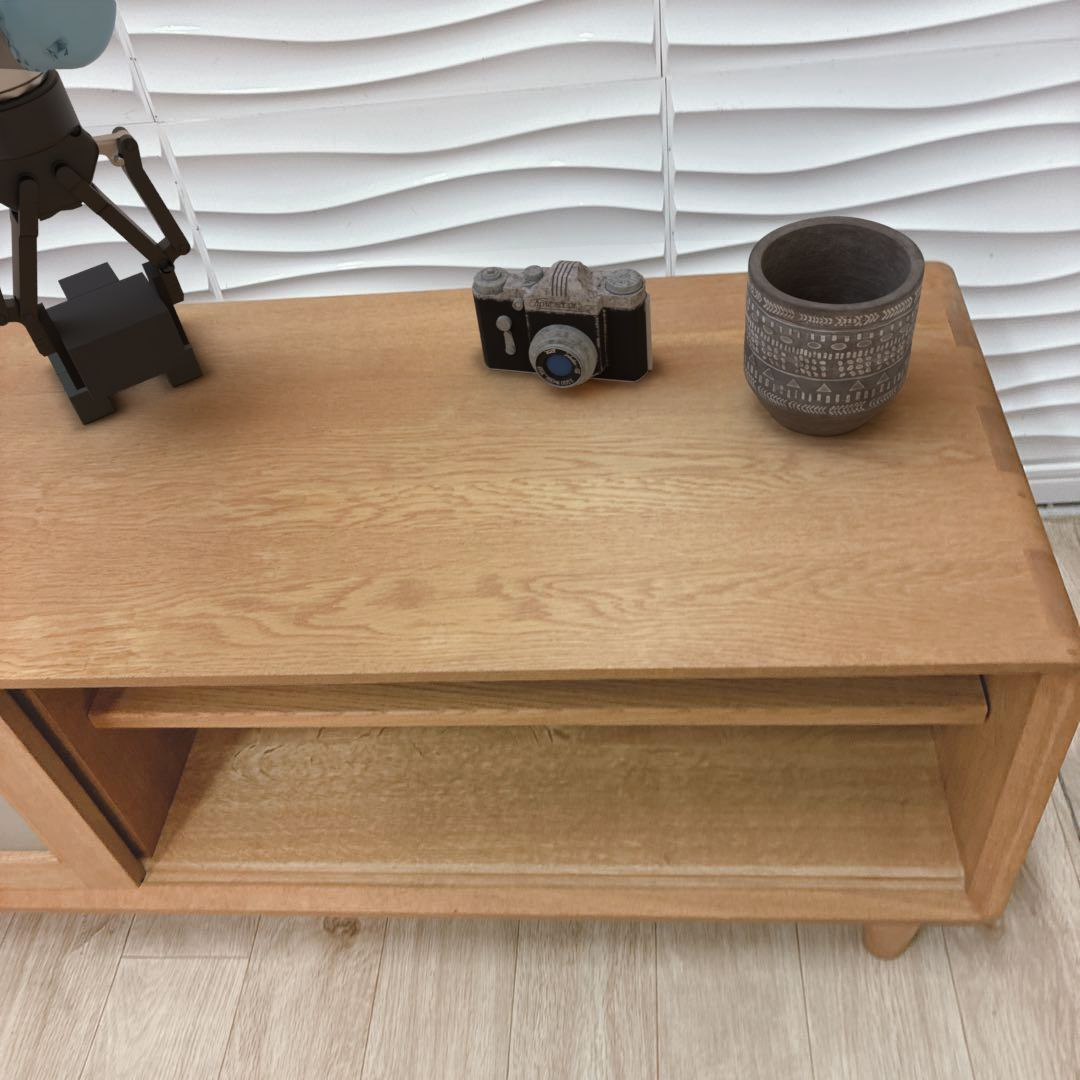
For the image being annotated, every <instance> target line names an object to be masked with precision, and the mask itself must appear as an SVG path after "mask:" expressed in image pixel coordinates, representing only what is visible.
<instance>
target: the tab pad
mask: <svg viewBox="0 0 1080 1080" xmlns="http://www.w3.org/2000/svg"><path fill="white" fill-rule="evenodd" d="M57 281H58V284H59V287H60V288H61V291H62V292H63V294H64V296H65V298H66V300H65V301H63V302H59V303H58V304H55V305H52V306H50V307H47V308H45V309H46V310H47V312H48V314H49V316H50V318H51V320H52V322H53V324H54V326H55V328H56V329H57V331H58V333H59V335H60V337H61V340H62V342H63V344H64V345H65V347H66V349H67V351H68V353H69V355H70V357H71V359H72V361H73V363H74V365H75V367H76V369H77V370H78V372H79V374H80V376H81V378H82V380H83V382H84V384H85V386H86V388H87V390H88V392H89V393H90V395H91V397H92V399H93V401H94V402H96V401H98V400H101V399H103V398H105V397H110V396H112V395H114V394H118V393H120V392H122V391H125V390H127V389H129V388H132V387H134V386H136V385H139V384H141V383H144V382H146V381H148V380H151V379H153V378H155V377H158V376H160V375H162V374H163V375H164V373H165V372H168V371H170V370H172V369H175V368H177V367H180V366H182V365H184V364H187V363H189V362H190V359H189V357H188V355H187V352H186V350H185V348H184V345H183V343H182V340H181V338H180V336H179V333H178V331H177V329H176V326H175V324H174V321H173V319H172V317H171V314H170V312H169V310H168V308H167V307H166V306H165V304H164V303H163V301H162V300H161V298H160V297H159V296H158V294H157V293H156V292H155V290H154V289H153V287H152V286H151V284H150V283H149V280H148V278H147V276H146V274H144V272H143V271H140V272H138V273H134V274H132V275H130V276H128V277H125V278H122V279H119V277H118V276H117V274H116V273H115V271H114V270H113V268H112V267H111V265H110V263H109V262H108V261H105V262H103V263H100V264H98V265H94V266H92V267H90V268H87V269H85V270H84V269H83V270H82V271H79V272H76V273H73V274H71V275H69V276H68V275H67V276H66V277H63V278H61V279H58V280H57Z"/></svg>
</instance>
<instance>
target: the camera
mask: <svg viewBox="0 0 1080 1080" xmlns="http://www.w3.org/2000/svg"><path fill="white" fill-rule="evenodd" d="M471 291H472V298H473V302H474V308H475V315H476V320H477V326H478V327H477V328H478V333H479V338H480V343H481V350H482V356H483V361H484V364H485V367H486V368H487V369H488V370H492V371H501V372H502V371H504V372H512V373H513V372H514V373H524V374H534V375H537V376H538V377H539V378H540V379H541V380H542V381H543V382H544V383H546V384H548V385H550V386H551V387H554V388H559V389H565V388H566V389H567V388H571V387H575V386H578V385H581V384H584V383H585V382H587V381H589V379H591V380H599V381H610V382H611V381H613V382H624V383H637V382H639V381H641V380H642V379H643V378H645V377H646V376H647V375H648V373H649V371H652V370H653V345H652V344H653V343H652V318H651V317H652V315H651V314H652V312H651V311H652V310H651V293H649V292H647V287H646V279H645V278H644V276H643V274H641V273H640V272H639V271H637V270H635V269H633V268H632V269H631V268H619V269H616V270H600V269H599V270H596V269H590V268H589V267H588V266H587V265H585V264H583V262H582V261H578V260H561V259H560V260H557V261H555V262H554V263H553V264H552V265H551V266H540V265H537V264H532V265H529V266H526V268H524V270H523V271H522V272H519V273H517V272H516V273H511V272H508V271H507V270H506V269H505V268H504V267H500V266H487V267H485V268H482V269H480V270H478V271H477V272H476V273H475V274H474V276H473V282H472V284H471Z"/></svg>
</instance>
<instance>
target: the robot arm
mask: <svg viewBox="0 0 1080 1080" xmlns="http://www.w3.org/2000/svg"><path fill="white" fill-rule="evenodd" d="M116 19H117V1H116V0H0V204H1V205H3V206H4V207H6V208H8V209H9V210H8V211H9V220H10V227H11V229H10V230H11V233H10V234H11V267H12V269H11V272H12V273H11V274H12V297H11V298H5V297H4V295H3V291H2V289H1V287H0V327H4V326H7V325H9V324H10V323H18V324H21V325H22V326H23V327H24V328H25V330H26V331H27V333H28V336H29V337H30V339H31V340H32V343H33V344H34V347H35V348H36V350H37V352H38V353H39V354H40V355H41V356H43V357H44V358H46V357H48V355H51V354H53V353H56V352H57V354H58V355H59V357H60V359H61V361H62V363H63V365H64V367H65V369H66V371H67V372H68V374H69V376H70V378H71V380H72V382H73V384H74V386H75V388H76V389H77V390H79V389H82V388H84V387H86V386H85V384H84V382H83V380H82V378H81V376H80V374H79V372H78V370H77V369H76V367H75V365H74V363H73V361H72V359H71V357H70V355H69V353H68V351H67V349H66V347H65V345H64V344H63V342H62V340H61V337H60V335H59V333H58V331H57V329H56V328H55V326H54V324H53V322H52V320H51V318H50V316H49V314H48V312H47V310H46V309H47V308H46V307H45V305H44V303H43V302H39V298H38V296H39V295H38V294H39V293H38V292H39V290H38V288H39V287H38V286H39V285H38V238H39V234H40V233H39V232H40V231H39V221H40V222H43V221H46V220H49V219H51V218H53V217H54V216H56V215H57V214H58V213H61V212H62V211H65V212H66V211H73V210H76V209H78V208H81V207H83V204H84V205H85V206H87V208H89V209H90V210H91V211H92V212H93V213H94V214H95V215H97V216H98V217H100V218H101V219H102V220H103V221H104V222H105V223H107V225H109V226H110V227H111V228H112V229H113V230H114V231H115V232H116V233H117V234H119V235H120V236H121V237H122V239H124V240H125V241H126V242H127V243H129V244H130V245H131V246H132V247H133V248H134V249H135V250H136V251H137V252H138V253H139V254H140V255H142V256H143V257H144V258H145V259H146V260H147V261H145V262H143V263H141V266H142V269H143V271H144V273H145V277H146V278H147V280H148V281H149V283H150V284H151V286H152V287H153V289H154V290H155V292H156V293H157V294H158V296H159V297H160V298H161V300H162V301H163V303H164V304H165V306H166V307H167V308H168V310H169V312H170V314H171V317H172V319H173V321H174V324H175V326H176V329H177V331H178V333H179V336H180V338H181V340H182V343H183V345H184V346H185V345H188V344H190V341H189V339H188V336H187V334H186V332H185V331H186V330H185V329H184V326H183V324H182V322H181V319H180V317H179V315H178V312H177V310H176V307H175V306H176V305H177V304H179V303H183V302H184V301H185V293H184V290H183V289H182V285H181V284H180V281H179V278H178V276H177V274H176V271H175V270H176V265H175V262H176V260H177V259H179V258H180V257H181V256H187V255H188V254H189V253H190V252H191V250H192V247H191V244H190V242H189V240H188V239H187V237H186V235H185V234H184V232H183V230H182V229H181V228H180V225H179V224H178V222H177V221H176V219H175V218H174V216H173V215H172V213H171V211H170V210H169V207H168V206H167V204H166V203H165V202H164V200H163V198H162V197H161V194H160V193H159V192H158V190H157V188H156V187H155V185H154V183H153V182H152V181H151V178H150V177H149V175H148V174H147V172H146V170H145V169H144V167H143V160H142V157H141V152H140V147H139V144H138V141H137V140H136V139H135V138H134V136H133V135H132V134H131V132H129V130H128V129H126V127H124V126H120V125H119V126H116V127H114V128H113V129H112V131H111V133H107V134H100V135H95V136H94V135H93V136H92V135H91V133H89V132H88V131H87V130H86V129H84V128H83V126H82V124H81V121H80V120H79V118H78V115H77V113H76V111H75V108H74V105H73V104H72V101H71V99H70V96H69V95H68V91H67V89H66V88H65V85H64V82H63V80H62V78H61V76H60V74H59V71H58V70H75V69H76V70H78V69H83V68H85V67H87V66H90V65H91V64H92V63H94V62H95V61H96V60H98V59H99V58H100V57H101V56H102V55H103V54H104V53H105V51H106V50H107V48H108V46H109V44H110V41H111V38H112V37H113V33H114V30H115V27H116ZM100 155H102V156H105V157H106V158H107V159H108V161H109V162H110V163H111V164H112V166H114V167H120V168H121V170H122V172H123V173H124V174H125V176H126V178H127V179H128V181H129V183H130V184H131V186H132V187H133V189H134V190H135V192H136V193H137V195H138V197H139V198H140V200H141V201H142V204H144V206H145V208H146V210H147V211H148V212H149V214H150V216H151V217H152V219H153V221H154V222H155V224H156V225H157V226H158V227H157V228H159V230H160V231H161V233H162V235H163V238H162V239H161V240H159V242H157V241H156V240H154V239H153V238H152V236H150V235H149V234H148V233H147V232H146V231H145V230H144V229H143V228H142V227H141V226H140V225H138V224H137V223H136V222H135V221H134V220H133V219H132V218H131V217H130V216H129V215H128V214H126V212H125V211H123V209H121V208H120V207H119V206H118V205H117V204H116V203H115V202H113V200H111V199H110V197H108V196H107V195H106V193H104V192H103V191H102V190H101V189H100V188H99V186H97V185H96V183H94V182H93V181H94V178H95V173H96V170H97V169H96V168H97V165H98V160H99V158H100V157H99V156H100ZM190 345H191V344H190Z"/></svg>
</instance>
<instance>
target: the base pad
mask: <svg viewBox="0 0 1080 1080" xmlns="http://www.w3.org/2000/svg"><path fill="white" fill-rule="evenodd" d="M184 348H185V350H186V352H187V355H188V357H189V359H190V362H189V363H187V364H184V365H182V366H180V367H177V368H175V369H172V370H170V371H168V372H165V373H163V375H164V377H165V379H166V380H167V381H168V384H170V387H171V388H174V387H177V386H179V385H181V384H184V383H187V382H189V381H191V380H193V379H196V378H198V377H200V376H203V375H204V373H203V371H202V369H201V366H200V363H199V361H198V358H197V356H196V353H195V351H194V349H193V346H192V345H191V344H188V345H185V346H184ZM47 358H48V360H49V362H50V363H51V366H52V369H53V370H54V372H55V374H56V376H57V378H58V380H59V382H60V385H61V386H62V387H63V390H64V392H65V394H66V395H67V397H68V400H69V401H70V404H71V405H72V408H73V409H74V411H75V413H76V415H77V416H78V418H79V420H80V422H81V424H82V425H86V424H89V423H92V422H93V421H96V420H98V419H100V418H102V417H105V416H109V415H110V414H112V413H115V412H116V410H115V407H114V405H113V403H112V401H111V399H110V396H108V397H105V398H103V399H101V400H98V401H96V402H94V401H93V399H92V397H91V395H90V393H89V392H88V390H87V388H86V387H84V388H82V389H79V390H77V389H76V388H75V386H74V384H73V382H72V380H71V378H70V376H69V374H68V372H67V371H66V369H65V367H64V365H63V363H62V361H61V359H60V357H59V355H58V354H57V352H56V353H53V354H51V355H48V356H47Z"/></svg>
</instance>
